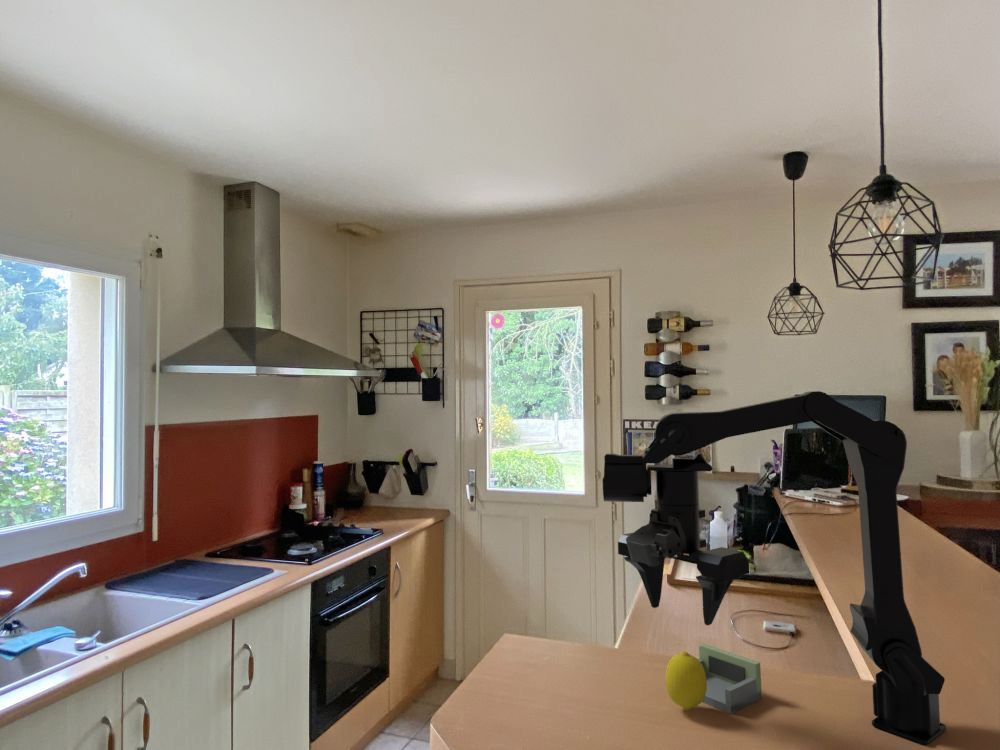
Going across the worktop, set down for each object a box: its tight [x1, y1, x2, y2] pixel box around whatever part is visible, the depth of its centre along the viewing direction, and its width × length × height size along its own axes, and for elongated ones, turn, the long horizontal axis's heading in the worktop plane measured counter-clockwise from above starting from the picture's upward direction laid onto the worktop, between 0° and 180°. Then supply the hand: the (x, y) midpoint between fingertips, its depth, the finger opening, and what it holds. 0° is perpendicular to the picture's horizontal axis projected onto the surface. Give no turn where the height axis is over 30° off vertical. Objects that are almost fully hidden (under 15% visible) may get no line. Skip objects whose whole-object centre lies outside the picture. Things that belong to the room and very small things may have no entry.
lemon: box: [664, 651, 707, 712], centre depth 91 cm, size 6×6×8 cm
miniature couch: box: [697, 643, 763, 714], centre depth 96 cm, size 10×8×5 cm
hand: (680, 615), depth 91 cm, fingers open, 9 cm apart
